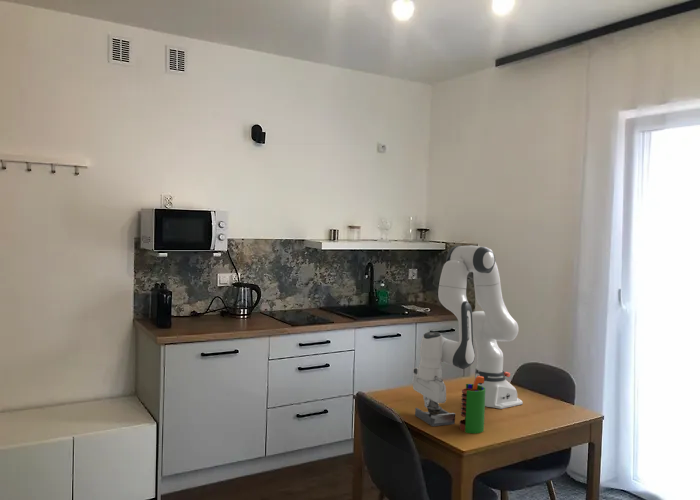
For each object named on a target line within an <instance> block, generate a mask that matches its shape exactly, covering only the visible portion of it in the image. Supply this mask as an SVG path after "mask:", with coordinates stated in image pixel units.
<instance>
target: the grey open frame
mask: <svg viewBox="0 0 700 500" xmlns="http://www.w3.org/2000/svg"><path fill="white" fill-rule="evenodd" d="M414 411H415V412H414V413H415V414H414V416H415V417H417V418H418V419H420V420H422V421H423V422H425V423H426V424H428V425H429V426H431V427H438V426H439V427H440V426H448V425H449V426H450V425H455V424H456V413H455V412H449V411H447V410H445V409H443V408H442V409H441V412H440V413H439V414H436V415H431V416H430V415H428V414H430V413H429V412H428V411H424V410H422V409H420V408H418V407H415V409H414Z"/></svg>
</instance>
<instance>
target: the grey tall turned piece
mask: <svg viewBox="0 0 700 500" xmlns="http://www.w3.org/2000/svg"><path fill="white" fill-rule="evenodd" d="M439 404H440V403H436V402H434V401H433V400H431V403H430V405H428V406H427V408H426V409H427V412H429V413H430V414H428V415H430V416H431V415H436V414H439V413H440V412H441V409H443V407H442V406H440V405H439Z"/></svg>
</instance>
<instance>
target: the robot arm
mask: <svg viewBox="0 0 700 500" xmlns="http://www.w3.org/2000/svg"><path fill="white" fill-rule="evenodd" d="M498 268H499V267H498V264H497V262H496V255H495V253H494V251H493V250H492V249H491V248H489V247H487V246H479V245H472V244H470V245H455V246H452V247H451V248H450V249H449V250H448V252H447V255H446V261H445V263H444V264H443V266H442V269H441V273H440V278H439V284H438V290H437V291H438V293H437V295H438V300H439V303H440V304H441V305H442V306H443V307H444V308H445V309H446V310H448V311H449V312H451V313H452V314H454V316H455V317H456V319H457V322H458V341H456V340H452V339H450V338H449V339H448V338H446V337H444V336H443V335H442V333H440V332H439V331H429V332H428V331H427V332H425V333H424V334H423V335H422V338H421V341H420V349H419V357H420V361H419V365H418V367H413V368H412V373H413V374H412V388H413V390H414V391H416V392H417V393H419V394H421V395H422V398H423V402H424V407H425V408H426V409H428V408H427V406H428V405H430V403H431V400H433V401H434V402H436V403H439V404H445V403H446V401H447V387H446V384H445V383H444V379H442V370H443V369H442V368H443V365H442V363H444V364H447V365H451V366H454V367H456V368H458V369H462V370H465V369H467V368H469V367H470V366H471V365H472V364H473V363H474V362H475V359H476V368H475V370H474V379H475V378H476V377H477V376H482V377H484V383H478V385H480V386H483V387H485V407H488V408H496V409H502V410H503V409H507V408H510V407H515V406H520V405H523V402H524V401H523V400H521V399H520V398H519V397H518V391H517V389H516V387H515V386H514V385H512V384H511V383H510V382H509V381H508V380H507V378H509V377H511V372H508V371H504V370H503V368H504V352H503V351H502V349H501V348H500V347H499V344H498V342H512V341H514V340H515V339H516V338H517V337H518V334H519V329H520V327H519V324H518V322H517V320H515V318H513V316H511V314H510V313H509V310H508V308H507V306H506V304H505V301H504V298H503V293H502V292H503V291H502V286H501V285H502V283H501V278H500V271H499V269H498ZM470 273H473V286H474V296H475V301H476V303H477V305H478V306H480V308H481V309H482V310H477V311H475V310H474V311H473V309H472V308H473V307H472V306H471V304H470V303H469V301H468V297H467V285H468V275H469V274H470ZM474 343H475V345H474ZM474 346H475V347H474ZM475 348H476V351H475Z"/></svg>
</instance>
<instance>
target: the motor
mask: <svg viewBox="0 0 700 500" xmlns="http://www.w3.org/2000/svg"><path fill="white" fill-rule="evenodd" d="M473 381H474V382H473V383H465V388H462V389H461V393H462V394H461V403H460V404H461V408H460V409H461V412H460V416H461V417H463V418H464V419H461V420H460V421H459V429H460V430H461V431H463V432H465V433H466V434H480V433H483V432H484V430H485V410H486V409H485V408H486V406H485V387H483V386H480V385H478V383H484V377H482V376H477V377H476V378H475V377H474V380H473Z"/></svg>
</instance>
